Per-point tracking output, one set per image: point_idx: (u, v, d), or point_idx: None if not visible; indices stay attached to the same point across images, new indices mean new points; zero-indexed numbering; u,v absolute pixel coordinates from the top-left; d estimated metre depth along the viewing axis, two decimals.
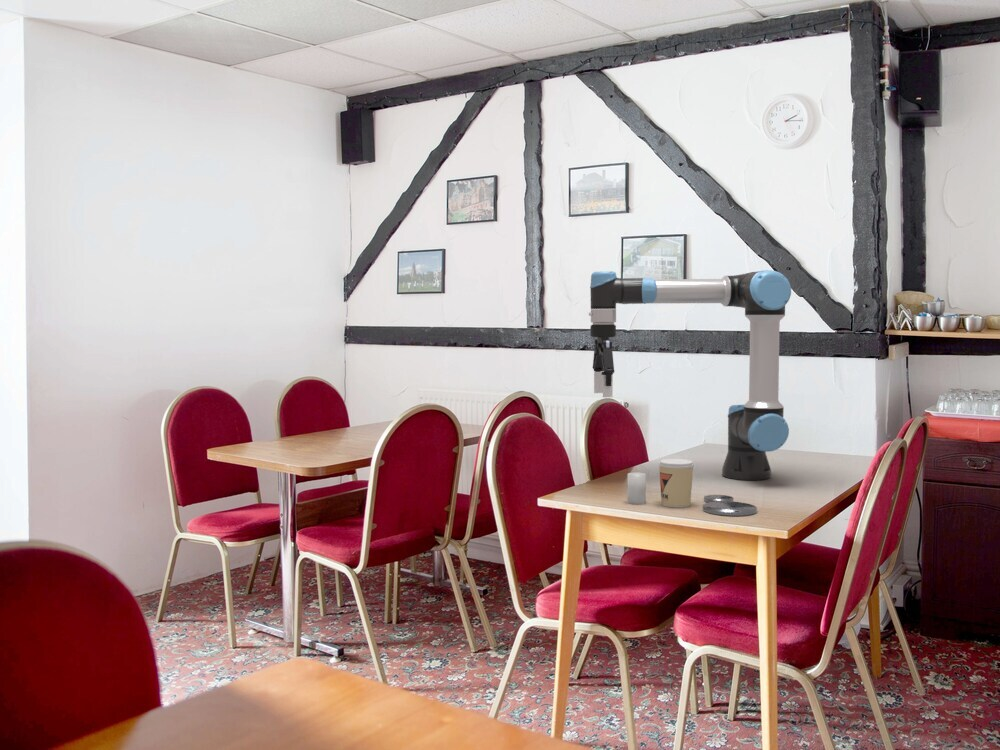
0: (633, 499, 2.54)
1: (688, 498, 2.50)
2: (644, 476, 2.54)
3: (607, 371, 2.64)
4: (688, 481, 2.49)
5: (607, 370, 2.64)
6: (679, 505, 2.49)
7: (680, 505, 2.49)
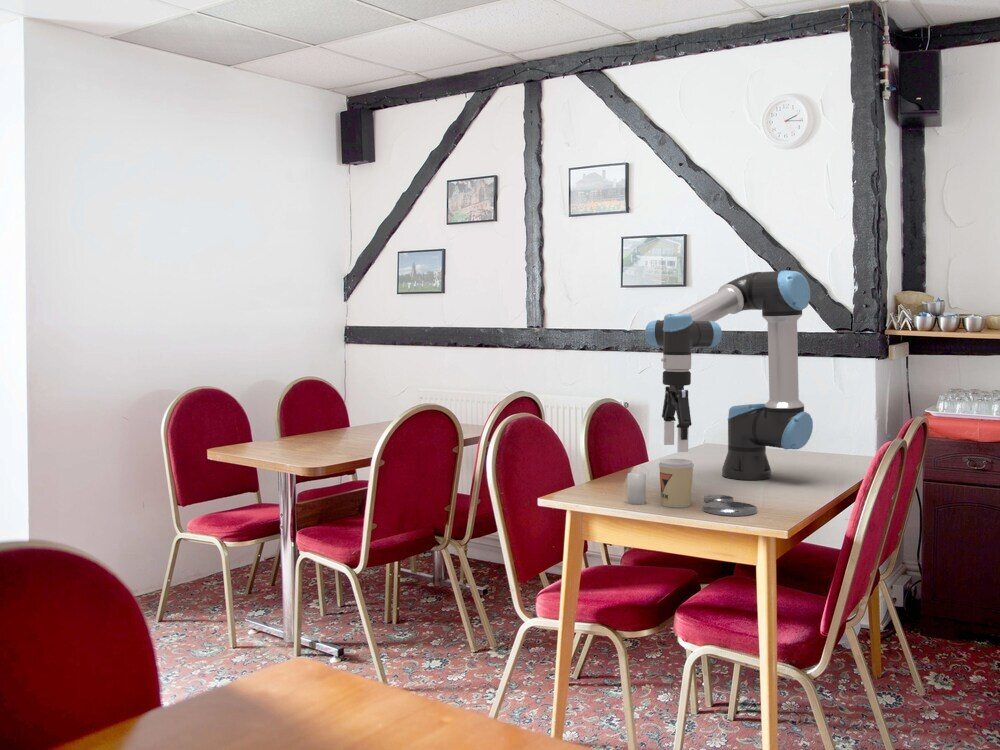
0: (633, 499, 2.54)
1: (688, 498, 2.50)
2: (644, 476, 2.54)
3: (684, 424, 2.41)
4: (688, 481, 2.49)
5: (684, 423, 2.41)
6: (679, 505, 2.49)
7: (680, 505, 2.49)
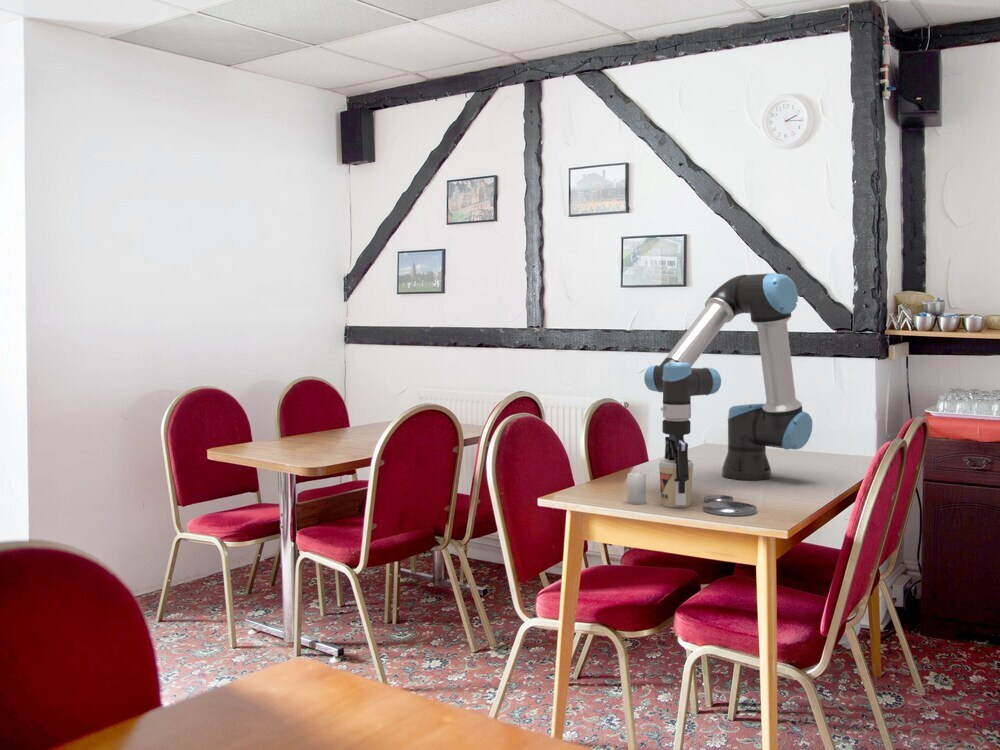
0: (633, 499, 2.54)
1: (688, 498, 2.50)
2: (644, 476, 2.54)
3: (681, 478, 2.44)
4: (688, 481, 2.49)
5: (681, 477, 2.44)
6: (679, 505, 2.49)
7: (680, 505, 2.49)
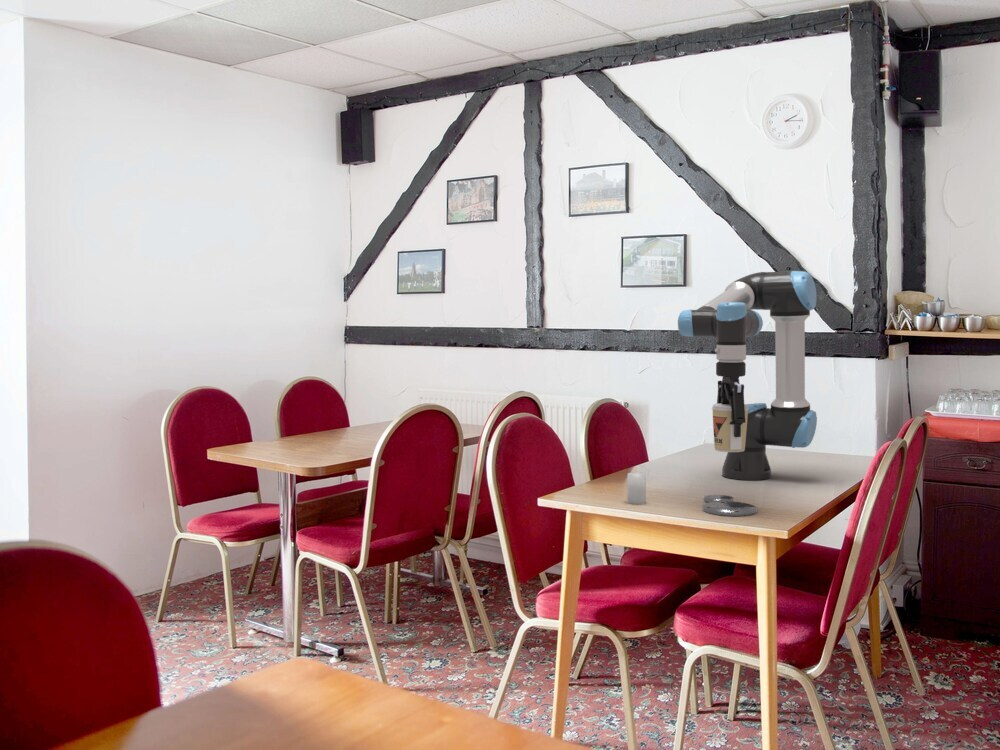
0: (633, 499, 2.54)
1: (743, 442, 2.41)
2: (644, 476, 2.54)
3: (737, 421, 2.35)
4: (743, 425, 2.40)
5: (737, 420, 2.35)
6: (734, 450, 2.40)
7: (735, 450, 2.40)
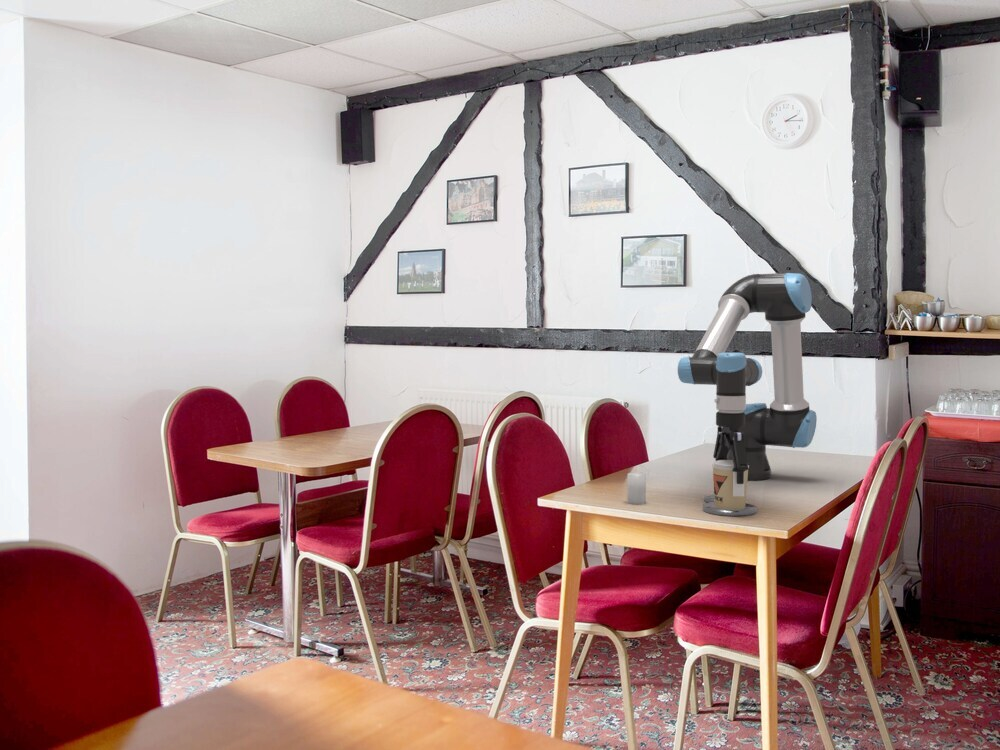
0: (633, 499, 2.54)
1: (743, 501, 2.41)
2: (644, 476, 2.54)
3: (740, 468, 2.34)
4: (744, 483, 2.40)
5: (740, 467, 2.34)
6: (734, 508, 2.40)
7: (735, 508, 2.40)
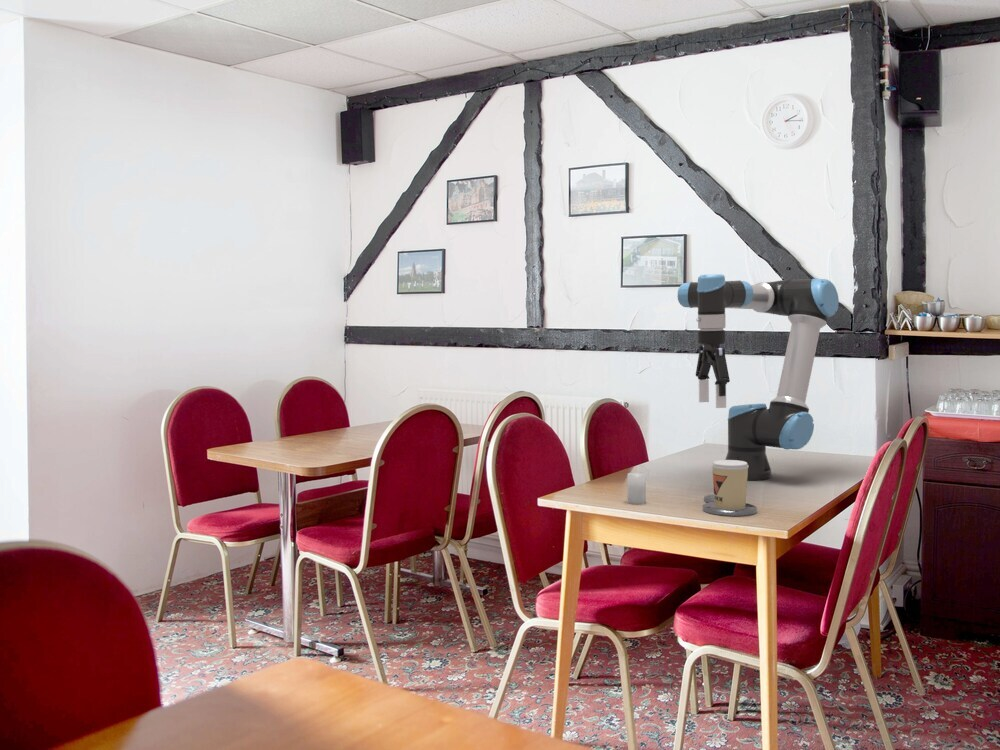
0: (633, 499, 2.54)
1: (743, 501, 2.41)
2: (644, 476, 2.54)
3: (722, 381, 2.50)
4: (743, 483, 2.40)
5: (722, 380, 2.50)
6: (734, 508, 2.40)
7: (735, 508, 2.40)
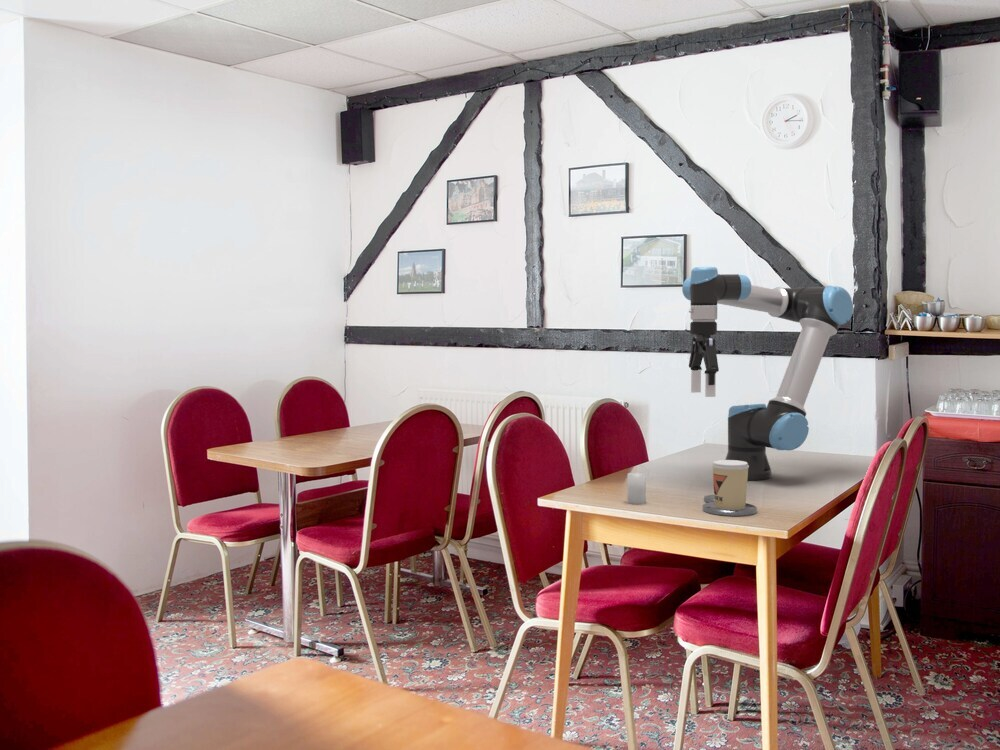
0: (633, 499, 2.54)
1: (743, 501, 2.41)
2: (644, 476, 2.54)
3: (711, 370, 2.56)
4: (743, 483, 2.40)
5: (711, 369, 2.56)
6: (734, 508, 2.40)
7: (735, 508, 2.40)
